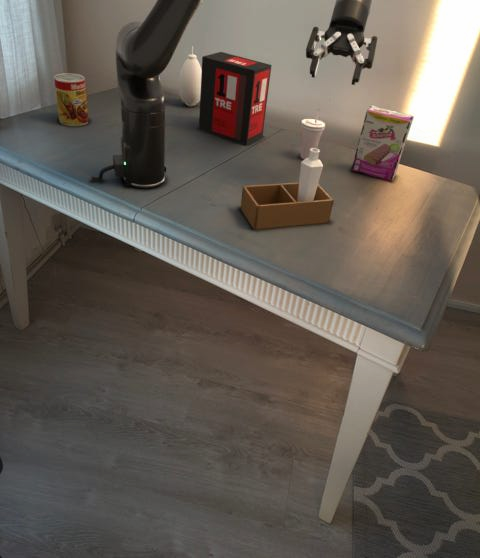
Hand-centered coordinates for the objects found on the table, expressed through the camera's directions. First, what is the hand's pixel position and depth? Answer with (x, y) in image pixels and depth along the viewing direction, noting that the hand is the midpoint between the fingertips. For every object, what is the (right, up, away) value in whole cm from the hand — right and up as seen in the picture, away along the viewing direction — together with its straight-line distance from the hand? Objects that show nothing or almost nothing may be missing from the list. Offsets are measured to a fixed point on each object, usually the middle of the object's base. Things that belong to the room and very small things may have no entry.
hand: (333, 79), depth 105 cm
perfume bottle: (-6, -28, +7) cm, 29 cm away
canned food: (-67, +3, +37) cm, 76 cm away
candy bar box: (+16, -14, +28) cm, 35 cm away
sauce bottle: (-36, +14, +58) cm, 69 cm away
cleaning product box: (-22, +1, +42) cm, 47 cm away
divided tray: (-10, -28, +5) cm, 30 cm away
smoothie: (-1, -9, +33) cm, 34 cm away
